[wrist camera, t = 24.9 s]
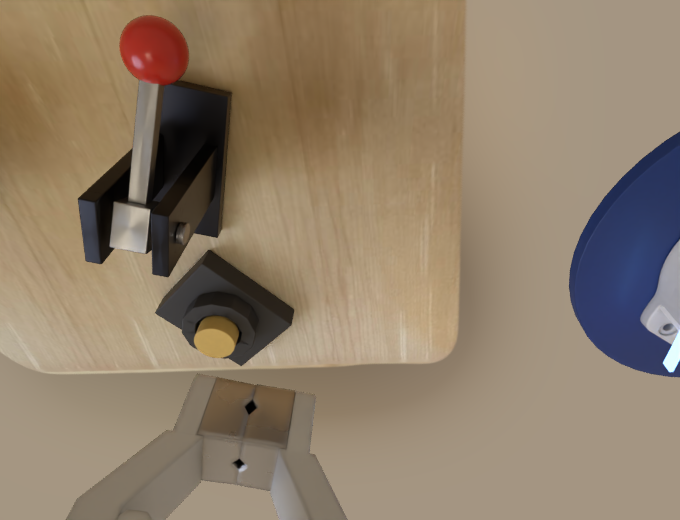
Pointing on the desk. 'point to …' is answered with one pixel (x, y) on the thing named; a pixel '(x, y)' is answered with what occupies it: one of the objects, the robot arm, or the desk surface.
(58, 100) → the desk surface
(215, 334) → the button
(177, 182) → the gas tap
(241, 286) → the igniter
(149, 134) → the lever
